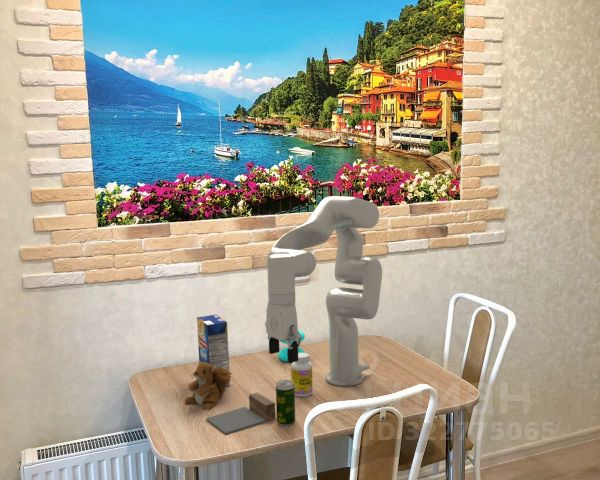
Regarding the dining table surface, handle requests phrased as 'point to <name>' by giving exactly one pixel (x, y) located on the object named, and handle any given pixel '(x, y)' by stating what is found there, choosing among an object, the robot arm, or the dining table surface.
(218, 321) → the beverage box
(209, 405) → the stuffed squirrel
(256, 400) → the walnut ledge
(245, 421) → the rubber mat
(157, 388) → the dining table surface
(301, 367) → the supplement bottle
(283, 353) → the donuts
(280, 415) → the beer can
